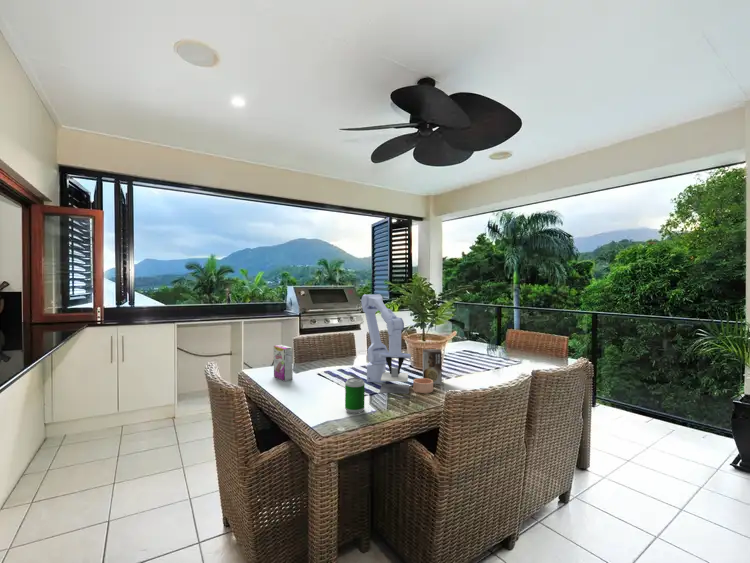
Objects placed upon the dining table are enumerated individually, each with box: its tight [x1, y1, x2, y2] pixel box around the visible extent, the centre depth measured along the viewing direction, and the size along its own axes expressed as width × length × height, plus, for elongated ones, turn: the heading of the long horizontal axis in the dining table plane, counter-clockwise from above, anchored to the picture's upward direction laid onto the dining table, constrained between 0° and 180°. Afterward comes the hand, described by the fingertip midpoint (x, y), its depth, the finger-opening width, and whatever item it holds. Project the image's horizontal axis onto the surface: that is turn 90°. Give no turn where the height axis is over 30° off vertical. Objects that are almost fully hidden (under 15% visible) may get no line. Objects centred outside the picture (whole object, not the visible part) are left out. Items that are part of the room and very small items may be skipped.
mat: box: [378, 383, 410, 394], centre depth 163 cm, size 13×13×1 cm
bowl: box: [412, 377, 434, 394], centre depth 161 cm, size 9×9×4 cm
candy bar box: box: [273, 344, 294, 382], centre depth 180 cm, size 11×5×16 cm, turn 44°
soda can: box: [344, 377, 366, 414], centre depth 136 cm, size 8×8×12 cm
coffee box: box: [422, 348, 443, 386], centre depth 173 cm, size 9×6×16 cm
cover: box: [381, 367, 409, 383], centre depth 163 cm, size 12×12×4 cm
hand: (394, 373), depth 163 cm, fingers closed on cover, 3 cm apart
